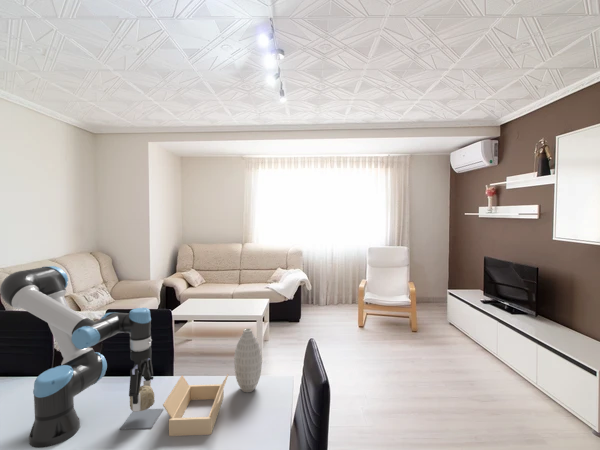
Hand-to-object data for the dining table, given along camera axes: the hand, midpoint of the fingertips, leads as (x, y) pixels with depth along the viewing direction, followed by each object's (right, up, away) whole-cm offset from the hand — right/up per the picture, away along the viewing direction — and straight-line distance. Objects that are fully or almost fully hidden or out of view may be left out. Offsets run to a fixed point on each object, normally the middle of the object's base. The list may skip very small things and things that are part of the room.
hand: (142, 403), depth 129 cm
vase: (+39, -6, +22) cm, 45 cm away
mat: (0, -7, 0) cm, 7 cm away
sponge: (0, -1, 0) cm, 1 cm away
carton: (+22, -6, +3) cm, 23 cm away
